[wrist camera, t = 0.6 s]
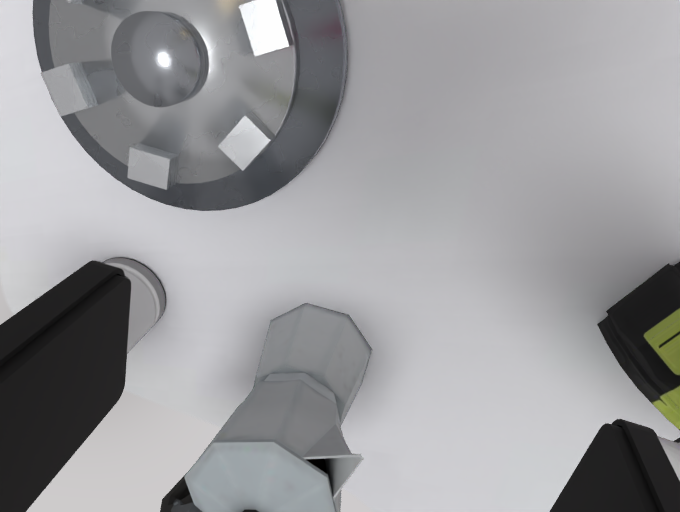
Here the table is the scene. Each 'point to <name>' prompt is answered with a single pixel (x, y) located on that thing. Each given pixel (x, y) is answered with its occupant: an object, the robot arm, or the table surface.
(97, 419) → the robot arm
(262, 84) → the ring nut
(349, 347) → the coffee maker
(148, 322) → the travel mug
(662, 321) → the cordless drill
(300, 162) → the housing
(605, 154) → the table surface
